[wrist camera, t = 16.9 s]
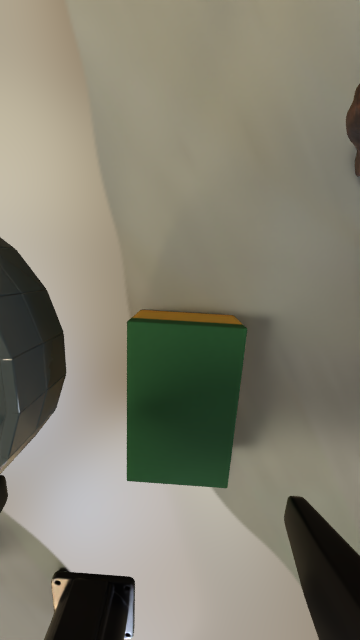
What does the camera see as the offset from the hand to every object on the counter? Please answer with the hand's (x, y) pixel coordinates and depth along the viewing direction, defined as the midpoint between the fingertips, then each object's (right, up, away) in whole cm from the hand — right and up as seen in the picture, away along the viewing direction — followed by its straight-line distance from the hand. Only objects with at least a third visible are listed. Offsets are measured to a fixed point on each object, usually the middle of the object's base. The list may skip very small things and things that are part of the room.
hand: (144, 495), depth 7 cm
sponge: (+1, +2, +7) cm, 7 cm away
